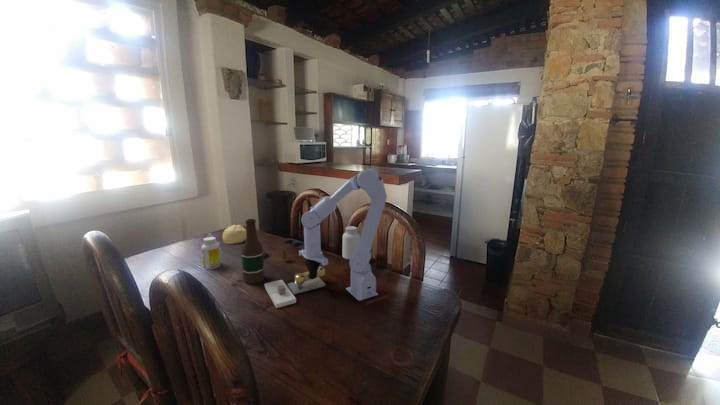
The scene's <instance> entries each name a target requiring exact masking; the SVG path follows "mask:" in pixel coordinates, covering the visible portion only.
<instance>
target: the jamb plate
mask: <svg viewBox="0 0 720 405" xmlns="http://www.w3.org/2000/svg"><path fill="white" fill-rule="evenodd" d="M287 287H288V288H289V290H290V291H291V292H292V294H293V295H297V294H301V293H305V292H308V291H312V290H316V289H319V288H323V287H326V283H325V282H324V281H323V280H322V279H321V278H320V277H317V278H315V279H311V280H308V281H305V282H304V283H302V284H296V283H295V281H294V282H293V281H292V282H290V283H287Z"/></svg>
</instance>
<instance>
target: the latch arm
mask: <svg viewBox="0 0 720 405" xmlns="http://www.w3.org/2000/svg"><path fill="white" fill-rule="evenodd" d="M325 275H326V269H325V268H324V266H323V265H319V267H318V270H317V277H319V278H320V277H323V276H325ZM308 280H311V279H310V274H309V270H308V271H305V272H302V273H301V272H299V273H296V274H294V282H295V283H296V284H302V283H304V282H305V281H308Z"/></svg>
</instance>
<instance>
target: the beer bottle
mask: <svg viewBox="0 0 720 405" xmlns="http://www.w3.org/2000/svg"><path fill="white" fill-rule="evenodd" d="M244 223H245V225H246V227H245V229H246V240H245V241H244V244H243V245H242V247H241V248H242V249H241V261H242V262H241V263H242V279H243V282H244V283H246V284H248V285H253V284H254V285H255V284H260V283H261V282H263V281H264V279H265V261H264V259H265V258H264V257H265V256H264V257H263V248H264V247H263V244H262V243H261V241H260V240H259V238H258V236H257V234H258V233H257V225H256V223H257V220H256V219H254V218H247V219H246V220H245V222H244Z"/></svg>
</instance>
